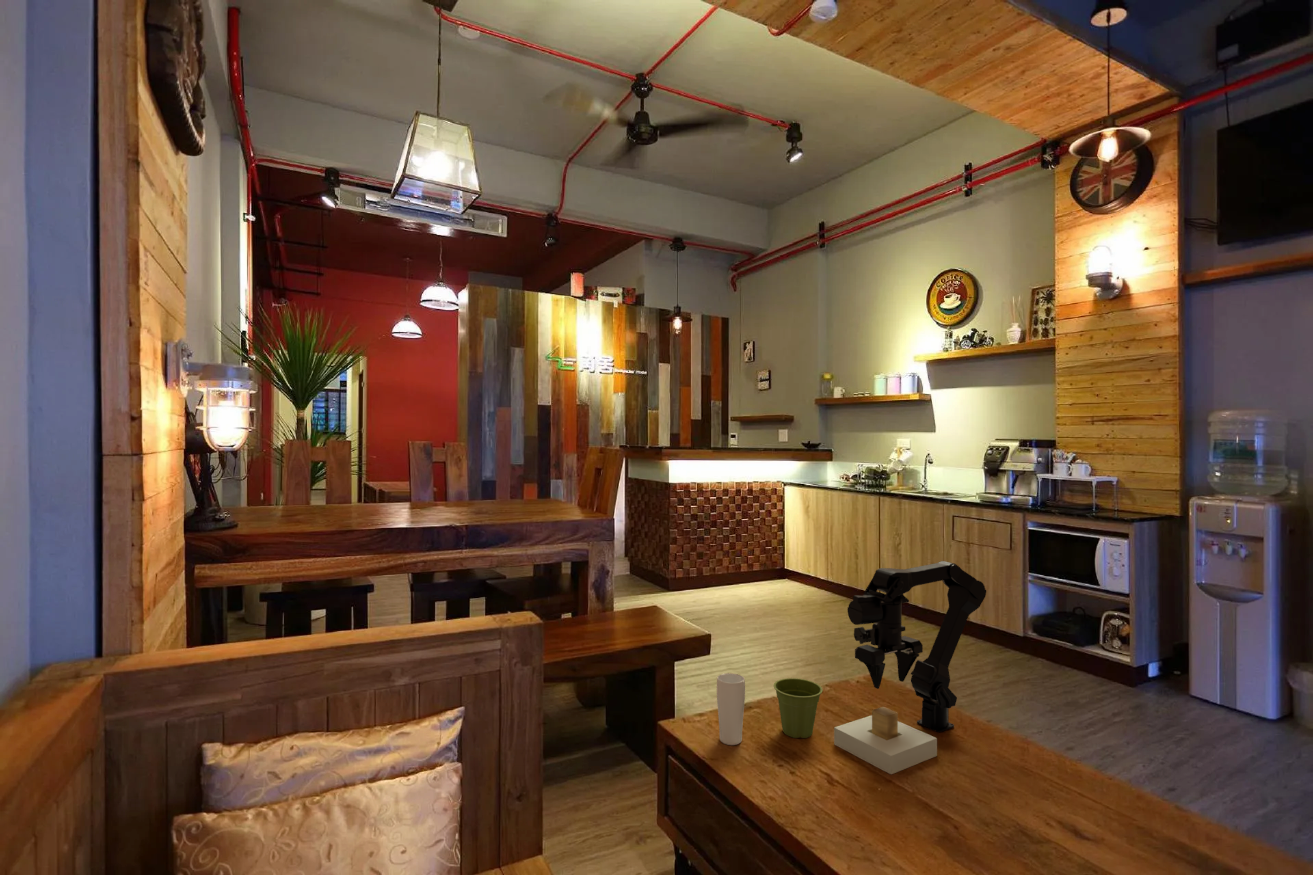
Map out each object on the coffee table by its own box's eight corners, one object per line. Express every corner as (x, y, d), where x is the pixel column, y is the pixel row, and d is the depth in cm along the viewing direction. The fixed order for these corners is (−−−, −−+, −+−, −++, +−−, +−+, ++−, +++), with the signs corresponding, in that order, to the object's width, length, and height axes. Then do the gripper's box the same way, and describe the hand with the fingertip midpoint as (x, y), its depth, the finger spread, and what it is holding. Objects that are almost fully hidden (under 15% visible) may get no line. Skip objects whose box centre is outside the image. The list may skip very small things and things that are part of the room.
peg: (883, 744, 149) (883, 706, 149) (897, 751, 146) (897, 712, 146) (872, 748, 147) (872, 710, 147) (886, 755, 143) (886, 716, 144)
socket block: (879, 728, 157) (879, 712, 157) (936, 755, 144) (936, 738, 144) (834, 744, 149) (834, 727, 149) (890, 774, 135) (890, 755, 135)
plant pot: (768, 738, 152) (768, 691, 152) (778, 718, 163) (778, 675, 163) (818, 747, 147) (818, 699, 147) (825, 727, 158) (825, 682, 158)
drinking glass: (744, 735, 153) (744, 673, 154) (745, 748, 147) (745, 683, 147) (716, 733, 154) (716, 672, 154) (716, 746, 147) (716, 682, 148)
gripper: (886, 608, 167) (886, 667, 167) (837, 618, 157) (837, 681, 157) (923, 618, 157) (924, 681, 157) (874, 629, 148) (873, 696, 147)
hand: (889, 684), depth 155 cm, fingers open, 9 cm apart
